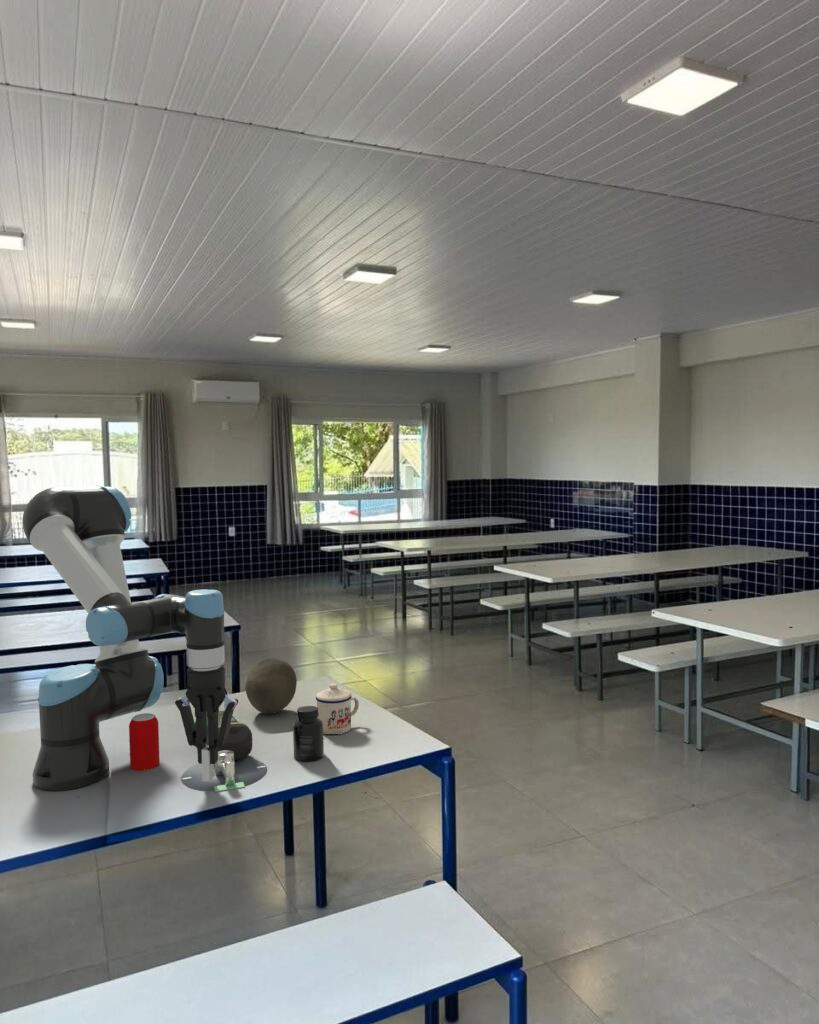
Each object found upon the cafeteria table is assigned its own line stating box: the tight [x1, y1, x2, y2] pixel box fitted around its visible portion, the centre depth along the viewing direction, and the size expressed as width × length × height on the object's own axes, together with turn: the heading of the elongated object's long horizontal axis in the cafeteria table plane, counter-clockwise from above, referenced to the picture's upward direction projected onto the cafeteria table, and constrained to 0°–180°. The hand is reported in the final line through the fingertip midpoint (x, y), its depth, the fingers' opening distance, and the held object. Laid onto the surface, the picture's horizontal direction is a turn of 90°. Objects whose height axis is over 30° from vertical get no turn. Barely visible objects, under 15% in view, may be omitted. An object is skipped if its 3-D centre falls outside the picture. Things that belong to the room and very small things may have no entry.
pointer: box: [215, 750, 235, 786], centre depth 156 cm, size 10×4×5 cm, turn 23°
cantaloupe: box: [245, 657, 298, 715], centre depth 200 cm, size 14×14×15 cm
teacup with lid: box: [315, 683, 360, 735], centre depth 189 cm, size 12×9×12 cm
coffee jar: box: [194, 710, 253, 760], centre depth 172 cm, size 10×8×19 cm
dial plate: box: [180, 757, 268, 793], centre depth 159 cm, size 18×18×1 cm
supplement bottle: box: [292, 705, 325, 763], centre depth 168 cm, size 7×7×12 cm
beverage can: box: [128, 712, 161, 772], centre depth 164 cm, size 6×6×12 cm
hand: (208, 778), depth 152 cm, fingers closed
